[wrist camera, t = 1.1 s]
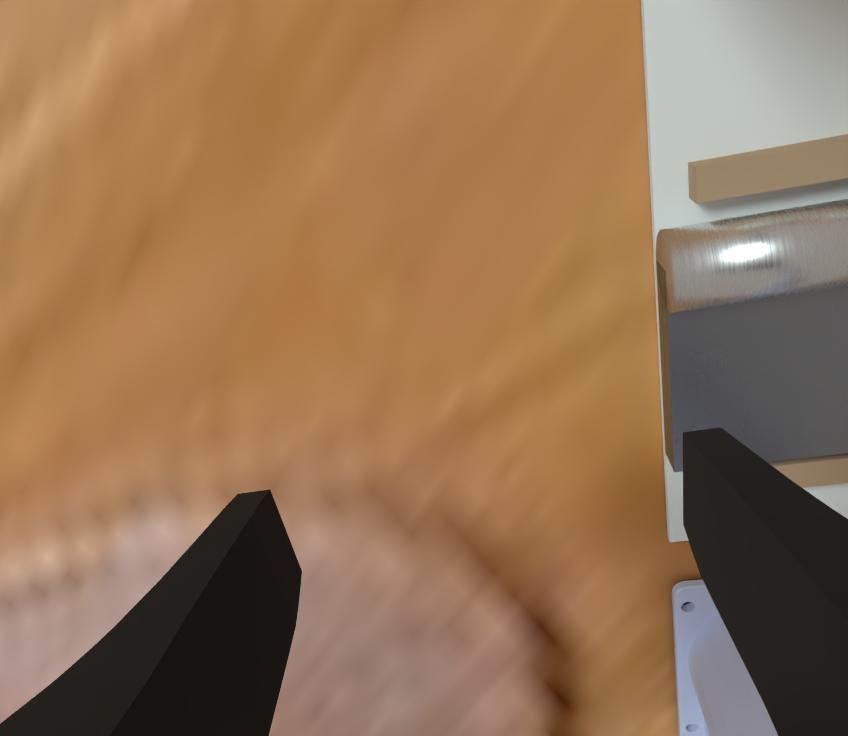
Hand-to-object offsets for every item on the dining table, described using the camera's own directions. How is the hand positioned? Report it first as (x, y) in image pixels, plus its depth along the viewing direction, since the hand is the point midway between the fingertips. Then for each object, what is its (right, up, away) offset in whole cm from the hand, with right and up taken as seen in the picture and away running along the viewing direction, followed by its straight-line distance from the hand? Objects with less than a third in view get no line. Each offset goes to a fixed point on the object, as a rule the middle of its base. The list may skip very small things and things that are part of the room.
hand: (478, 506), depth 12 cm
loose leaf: (+10, +4, +9) cm, 14 cm away
